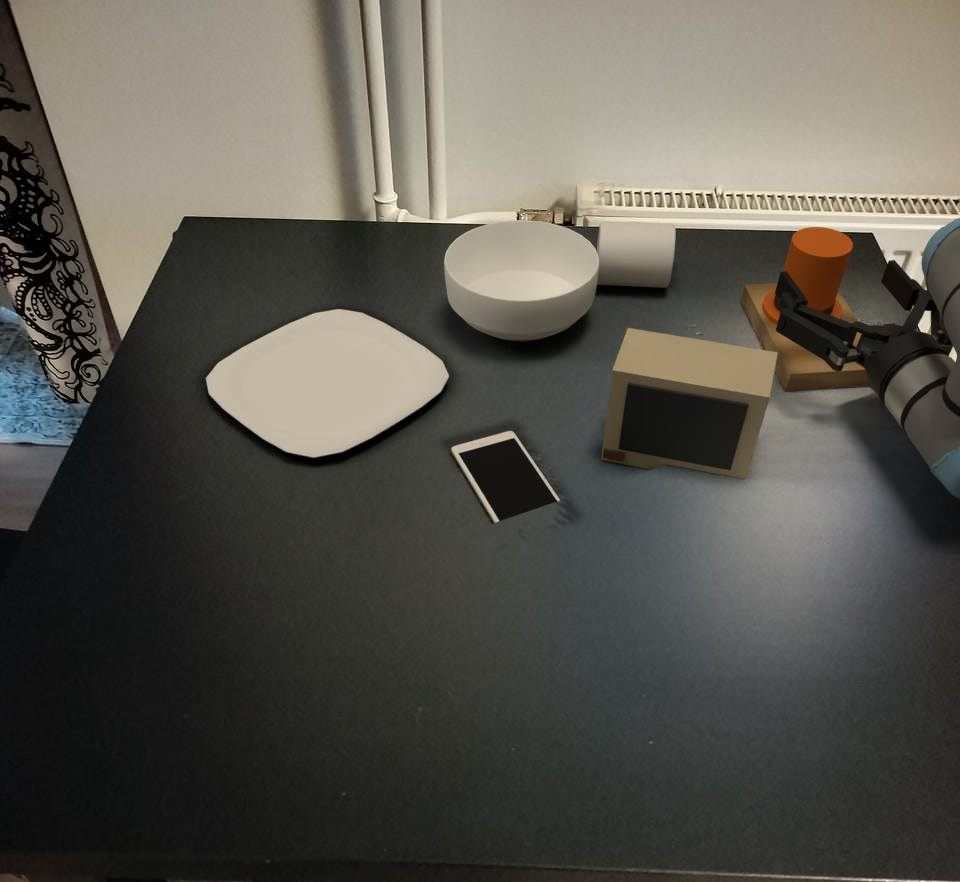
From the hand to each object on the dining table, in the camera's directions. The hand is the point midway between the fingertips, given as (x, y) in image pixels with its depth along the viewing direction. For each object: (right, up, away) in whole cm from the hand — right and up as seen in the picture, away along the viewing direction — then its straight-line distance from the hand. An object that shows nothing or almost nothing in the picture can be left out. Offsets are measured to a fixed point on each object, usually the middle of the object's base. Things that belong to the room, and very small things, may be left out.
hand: (834, 276), depth 107 cm
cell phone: (-39, -27, -8) cm, 48 cm away
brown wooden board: (0, -5, +8) cm, 10 cm away
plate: (-61, -13, +3) cm, 63 cm away
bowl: (-37, -1, +12) cm, 39 cm away
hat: (-1, -1, +8) cm, 8 cm away
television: (-20, -22, -5) cm, 30 cm away
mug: (-21, +8, +19) cm, 29 cm away
